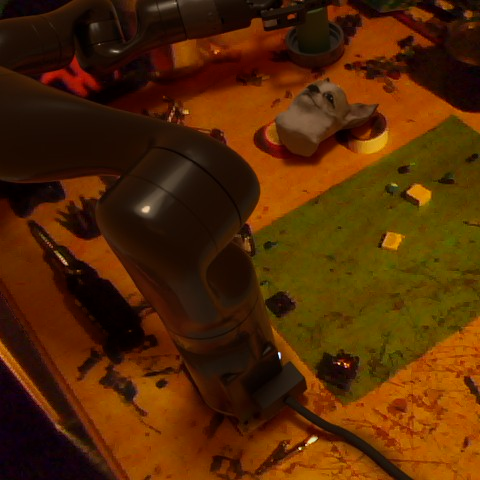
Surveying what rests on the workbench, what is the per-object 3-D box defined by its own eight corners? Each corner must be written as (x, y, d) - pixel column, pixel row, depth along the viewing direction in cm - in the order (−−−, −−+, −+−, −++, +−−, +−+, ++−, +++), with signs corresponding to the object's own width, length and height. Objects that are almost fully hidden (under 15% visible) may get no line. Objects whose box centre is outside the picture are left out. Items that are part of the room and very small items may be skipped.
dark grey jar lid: (356, 50, 104) (355, 36, 102) (311, 77, 101) (309, 64, 99) (319, 24, 109) (318, 11, 107) (275, 50, 106) (273, 37, 104)
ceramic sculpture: (247, 96, 87) (323, 42, 93) (255, 145, 93) (325, 91, 100) (309, 132, 82) (384, 72, 89) (312, 181, 89) (382, 122, 96)
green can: (337, 47, 104) (333, 2, 98) (312, 62, 103) (307, 17, 96) (316, 33, 107) (312, -12, 100) (292, 47, 105) (286, 2, 99)
